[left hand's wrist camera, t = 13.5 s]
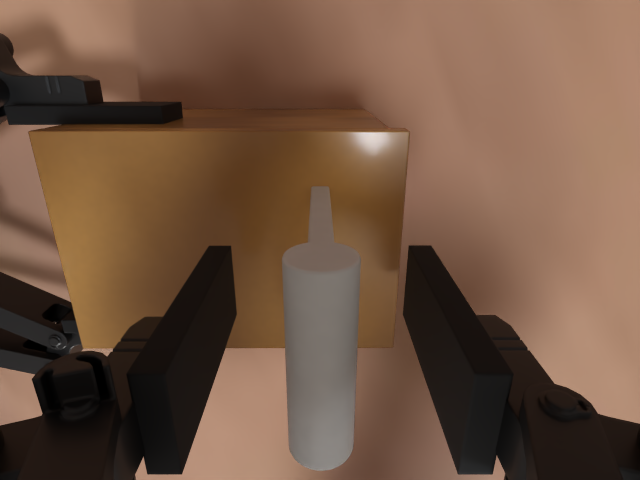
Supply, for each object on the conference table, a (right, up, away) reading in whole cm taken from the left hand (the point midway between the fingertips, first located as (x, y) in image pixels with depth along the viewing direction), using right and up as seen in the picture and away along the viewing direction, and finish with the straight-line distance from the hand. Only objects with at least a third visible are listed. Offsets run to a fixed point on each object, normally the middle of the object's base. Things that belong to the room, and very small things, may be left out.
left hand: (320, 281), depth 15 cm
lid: (-4, +1, +3) cm, 5 cm away
